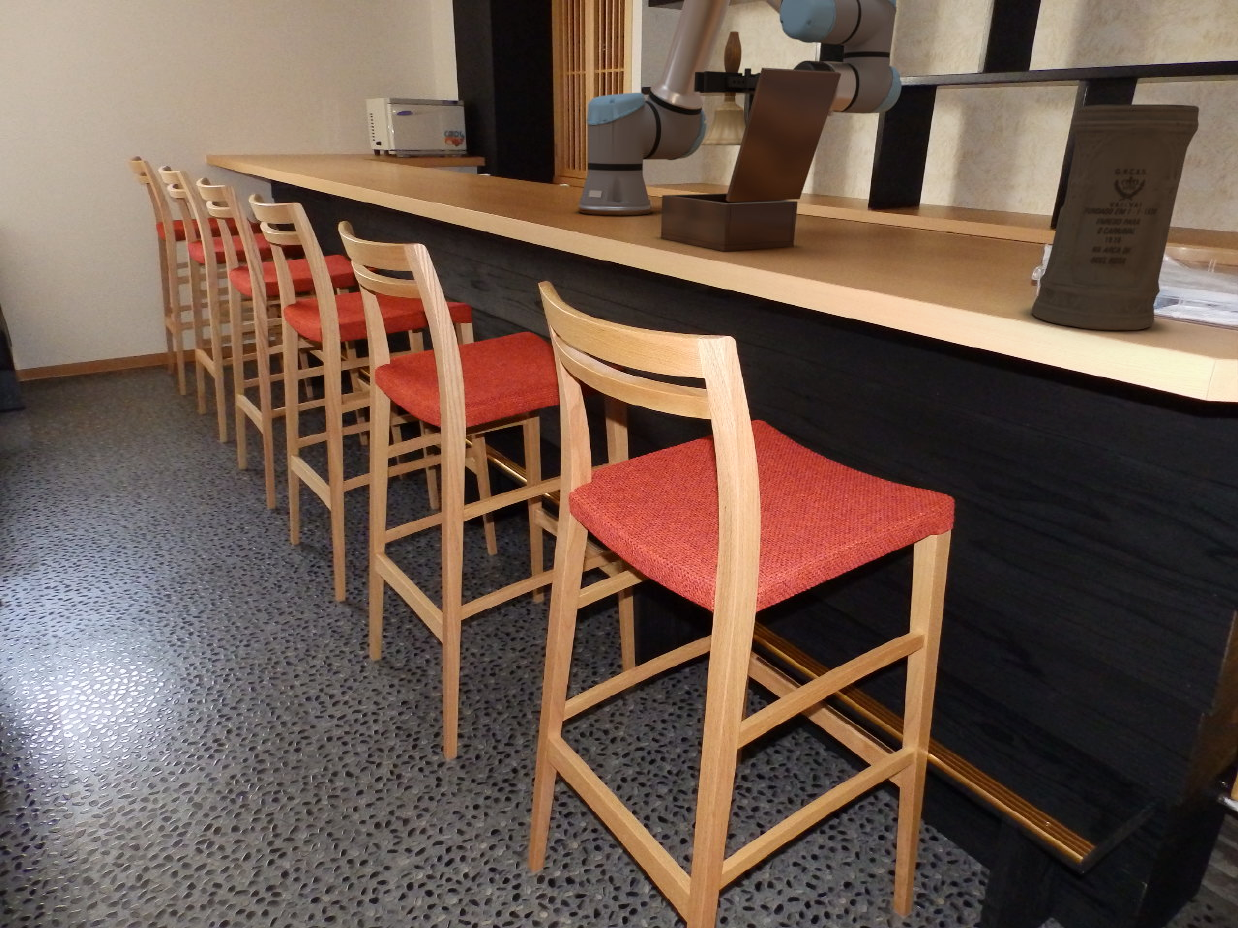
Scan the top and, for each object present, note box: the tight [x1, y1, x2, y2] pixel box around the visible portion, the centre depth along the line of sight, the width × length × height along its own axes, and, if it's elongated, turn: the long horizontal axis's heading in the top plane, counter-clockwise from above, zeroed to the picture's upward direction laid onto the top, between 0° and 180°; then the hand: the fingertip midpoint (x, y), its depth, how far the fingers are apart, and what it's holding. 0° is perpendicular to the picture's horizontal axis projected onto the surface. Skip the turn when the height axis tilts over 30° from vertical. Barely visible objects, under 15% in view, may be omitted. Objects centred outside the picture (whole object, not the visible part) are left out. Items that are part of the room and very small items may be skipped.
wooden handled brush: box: [700, 30, 746, 146], centre depth 128 cm, size 8×8×16 cm
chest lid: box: [726, 67, 841, 202], centre depth 120 cm, size 18×14×1 cm
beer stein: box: [1030, 103, 1200, 331], centre depth 82 cm, size 15×11×20 cm
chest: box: [660, 192, 798, 252], centre depth 134 cm, size 18×14×7 cm
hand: (700, 81), depth 125 cm, fingers closed on wooden handled brush, 2 cm apart
